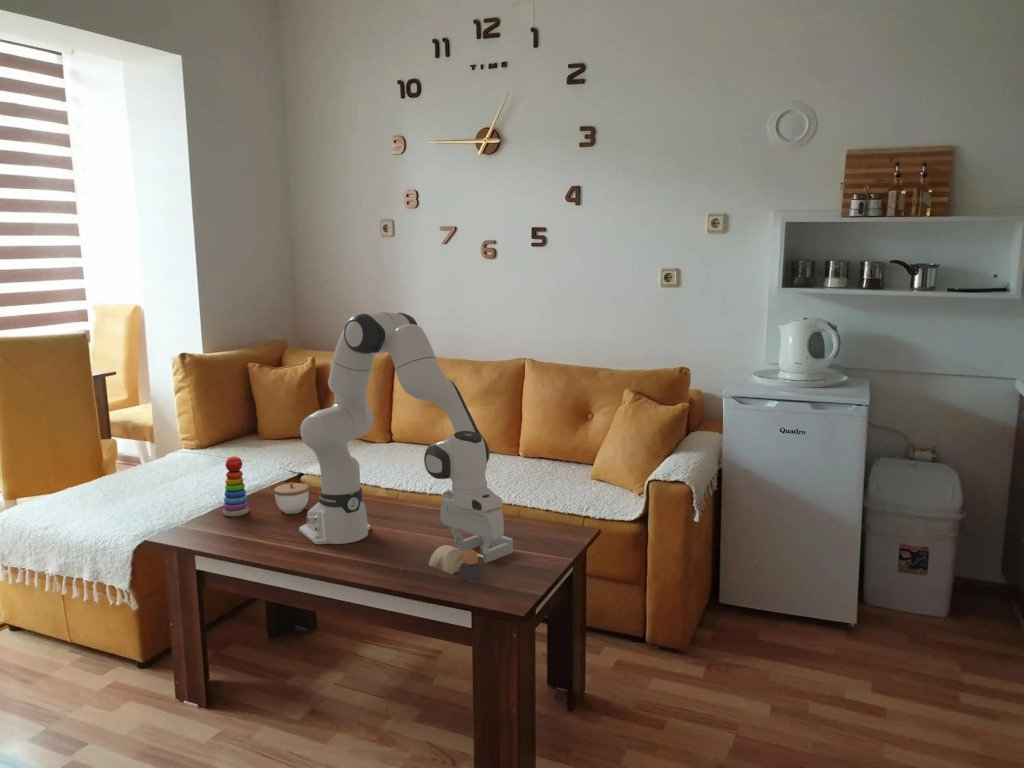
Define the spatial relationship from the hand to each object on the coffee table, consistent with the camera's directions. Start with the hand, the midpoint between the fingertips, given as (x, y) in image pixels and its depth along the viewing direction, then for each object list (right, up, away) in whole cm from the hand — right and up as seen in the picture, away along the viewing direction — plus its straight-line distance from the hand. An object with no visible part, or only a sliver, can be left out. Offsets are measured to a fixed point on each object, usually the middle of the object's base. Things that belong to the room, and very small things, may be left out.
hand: (471, 548), depth 201 cm
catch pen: (+3, -5, +19) cm, 20 cm away
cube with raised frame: (0, -8, +1) cm, 8 cm away
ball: (0, -2, 0) cm, 2 cm away
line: (+1, -5, +17) cm, 18 cm away
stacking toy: (-79, 0, +54) cm, 95 cm away
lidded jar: (-61, 0, +56) cm, 83 cm away
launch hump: (-5, -12, +11) cm, 18 cm away
